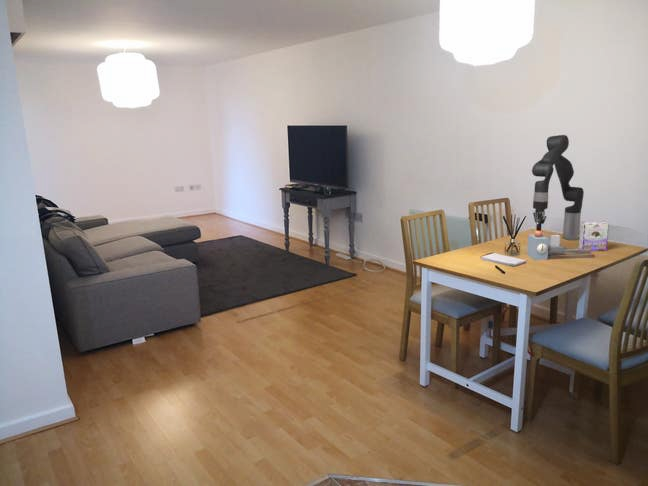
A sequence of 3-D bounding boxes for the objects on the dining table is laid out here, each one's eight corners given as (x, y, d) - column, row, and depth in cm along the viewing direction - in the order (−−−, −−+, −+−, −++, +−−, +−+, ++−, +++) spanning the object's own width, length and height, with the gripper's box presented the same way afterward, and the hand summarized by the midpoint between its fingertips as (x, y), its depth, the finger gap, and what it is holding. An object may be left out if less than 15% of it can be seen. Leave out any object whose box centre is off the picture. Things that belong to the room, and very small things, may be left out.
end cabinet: (526, 254, 289) (527, 234, 286) (538, 253, 289) (540, 233, 286) (535, 260, 277) (536, 239, 274) (547, 259, 277) (549, 238, 274)
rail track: (540, 254, 288) (540, 248, 287) (586, 252, 287) (586, 247, 287) (547, 259, 278) (548, 253, 278) (594, 257, 278) (595, 251, 277)
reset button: (533, 235, 282) (533, 229, 282) (540, 234, 282) (540, 229, 282) (536, 236, 279) (536, 231, 278) (543, 236, 278) (543, 231, 278)
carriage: (543, 248, 286) (544, 233, 284) (557, 247, 286) (558, 233, 284) (549, 251, 278) (550, 237, 276) (563, 251, 278) (564, 236, 276)
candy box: (602, 248, 296) (605, 221, 292) (606, 250, 290) (609, 223, 286) (578, 248, 298) (580, 221, 294) (581, 251, 292) (584, 223, 288)
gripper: (529, 198, 282) (527, 228, 286) (538, 202, 269) (536, 233, 273) (542, 198, 282) (540, 227, 286) (552, 201, 269) (550, 232, 273)
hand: (538, 230), depth 280 cm, fingers closed
